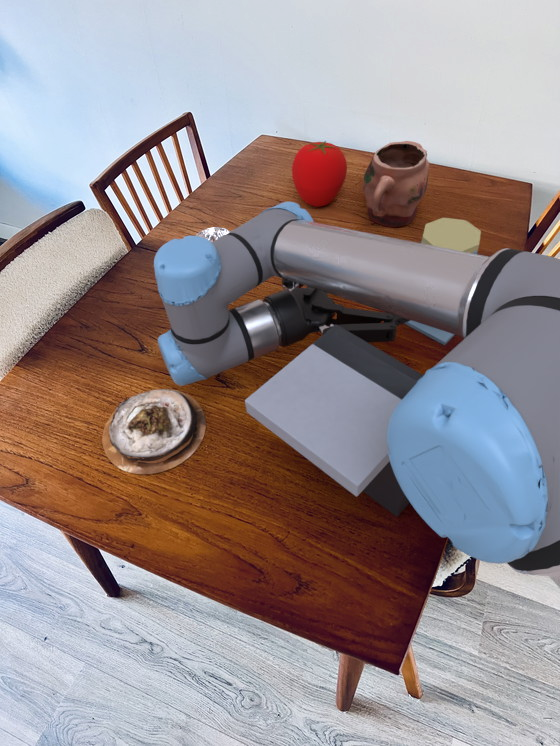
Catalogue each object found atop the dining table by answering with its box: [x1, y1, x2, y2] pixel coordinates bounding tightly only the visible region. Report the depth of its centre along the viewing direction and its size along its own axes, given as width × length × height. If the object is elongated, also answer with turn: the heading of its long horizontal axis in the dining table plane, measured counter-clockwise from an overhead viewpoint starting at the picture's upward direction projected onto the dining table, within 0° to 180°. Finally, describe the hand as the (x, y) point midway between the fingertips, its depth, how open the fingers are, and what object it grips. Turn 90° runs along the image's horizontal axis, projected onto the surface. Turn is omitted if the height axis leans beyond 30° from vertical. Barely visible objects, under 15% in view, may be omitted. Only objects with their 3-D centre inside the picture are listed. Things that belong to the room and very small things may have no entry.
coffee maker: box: [244, 324, 425, 518], centre depth 59 cm, size 14×14×22 cm
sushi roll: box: [101, 388, 207, 475], centre depth 74 cm, size 15×15×4 cm
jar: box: [420, 217, 482, 254], centre depth 82 cm, size 9×9×15 cm
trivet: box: [403, 320, 456, 346], centre depth 88 cm, size 11×11×1 cm
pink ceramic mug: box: [362, 140, 431, 228], centre depth 102 cm, size 20×12×14 cm, turn 155°
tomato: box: [291, 140, 348, 208], centre depth 108 cm, size 11×11×13 cm
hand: (399, 274), depth 77 cm, fingers open, 13 cm apart
